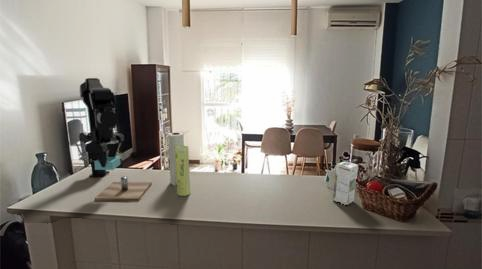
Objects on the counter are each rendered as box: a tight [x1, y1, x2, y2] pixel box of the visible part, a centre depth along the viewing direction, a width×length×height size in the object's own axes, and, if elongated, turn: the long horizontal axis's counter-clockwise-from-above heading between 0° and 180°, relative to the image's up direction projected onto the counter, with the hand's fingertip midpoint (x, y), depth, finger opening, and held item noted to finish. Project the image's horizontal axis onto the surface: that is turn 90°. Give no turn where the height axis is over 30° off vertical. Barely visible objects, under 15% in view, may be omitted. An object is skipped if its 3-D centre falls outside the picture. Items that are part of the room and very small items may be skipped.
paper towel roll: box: [168, 131, 185, 187], centre depth 123 cm, size 7×6×21 cm
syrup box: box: [332, 161, 359, 204], centre depth 107 cm, size 6×6×14 cm
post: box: [120, 176, 129, 191], centre depth 114 cm, size 2×2×5 cm
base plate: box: [94, 181, 153, 202], centre depth 115 cm, size 16×16×1 cm
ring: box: [94, 156, 121, 171], centre depth 111 cm, size 7×7×3 cm
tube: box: [175, 144, 191, 197], centre depth 112 cm, size 6×5×20 cm
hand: (108, 164), depth 111 cm, fingers closed on ring, 7 cm apart
